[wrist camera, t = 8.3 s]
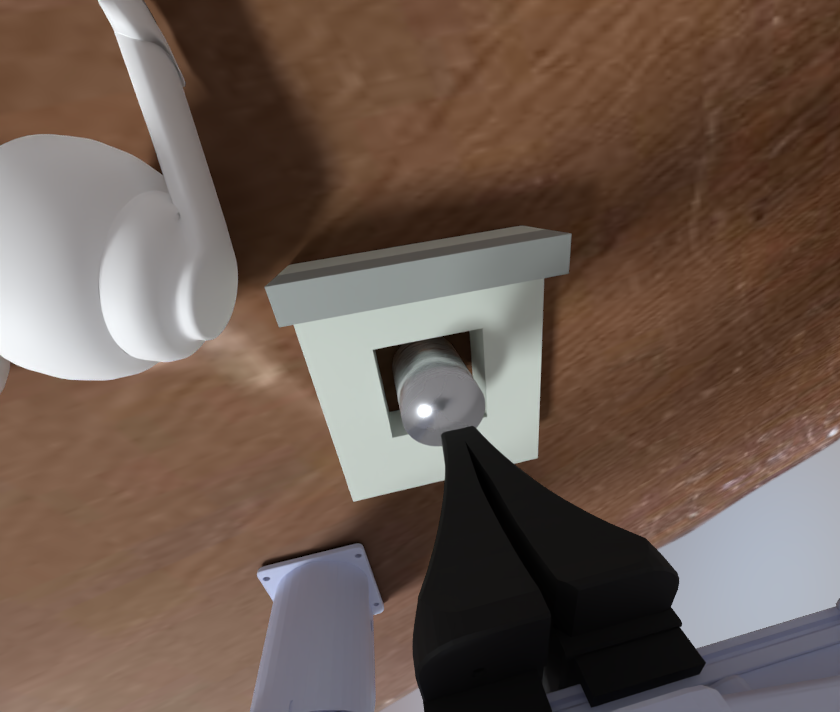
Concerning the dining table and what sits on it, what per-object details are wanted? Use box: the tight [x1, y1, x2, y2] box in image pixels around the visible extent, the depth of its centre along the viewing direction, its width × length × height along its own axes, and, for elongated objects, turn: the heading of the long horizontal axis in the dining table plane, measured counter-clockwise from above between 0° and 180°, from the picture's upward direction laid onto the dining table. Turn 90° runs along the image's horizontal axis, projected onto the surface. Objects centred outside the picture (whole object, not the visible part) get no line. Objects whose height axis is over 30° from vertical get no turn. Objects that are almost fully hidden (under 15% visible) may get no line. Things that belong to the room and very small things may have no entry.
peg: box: [392, 336, 485, 446], centre depth 17 cm, size 4×4×5 cm
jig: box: [265, 225, 572, 502], centre depth 18 cm, size 14×12×4 cm
